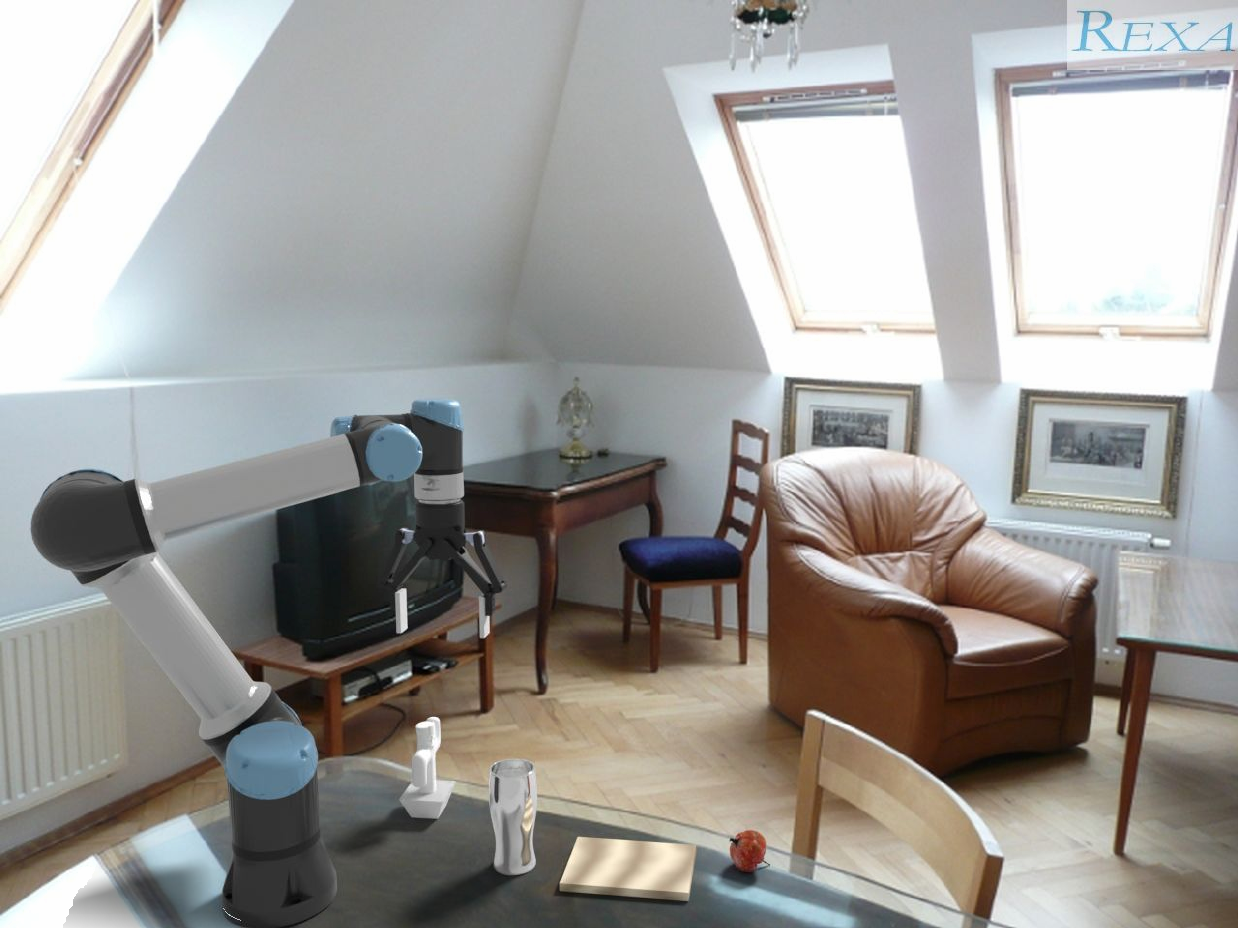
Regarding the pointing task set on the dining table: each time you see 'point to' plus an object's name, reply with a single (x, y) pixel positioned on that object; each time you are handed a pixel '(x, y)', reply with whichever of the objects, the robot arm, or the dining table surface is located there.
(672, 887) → the birch board
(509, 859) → the beer glass
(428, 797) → the figurine
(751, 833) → the pomegranate
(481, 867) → the dining table surface
